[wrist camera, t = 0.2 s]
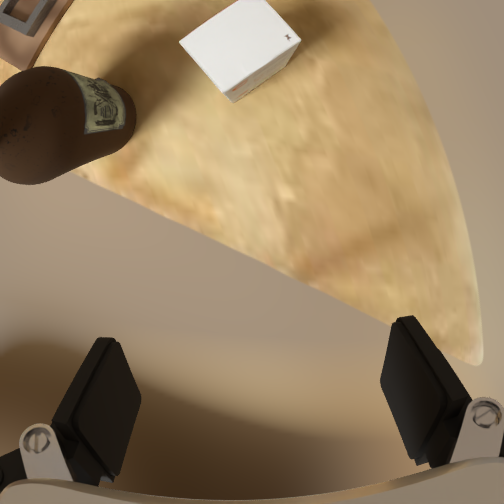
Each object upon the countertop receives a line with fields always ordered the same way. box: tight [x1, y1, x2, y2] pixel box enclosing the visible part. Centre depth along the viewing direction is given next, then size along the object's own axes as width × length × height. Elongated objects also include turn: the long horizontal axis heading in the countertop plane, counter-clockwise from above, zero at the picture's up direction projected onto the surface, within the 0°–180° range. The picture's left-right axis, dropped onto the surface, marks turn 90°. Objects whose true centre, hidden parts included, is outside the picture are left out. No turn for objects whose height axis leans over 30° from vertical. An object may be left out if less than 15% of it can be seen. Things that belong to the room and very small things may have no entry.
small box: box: [179, 0, 301, 103], centre depth 27 cm, size 8×6×13 cm
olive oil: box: [0, 66, 136, 185], centre depth 24 cm, size 11×11×25 cm
